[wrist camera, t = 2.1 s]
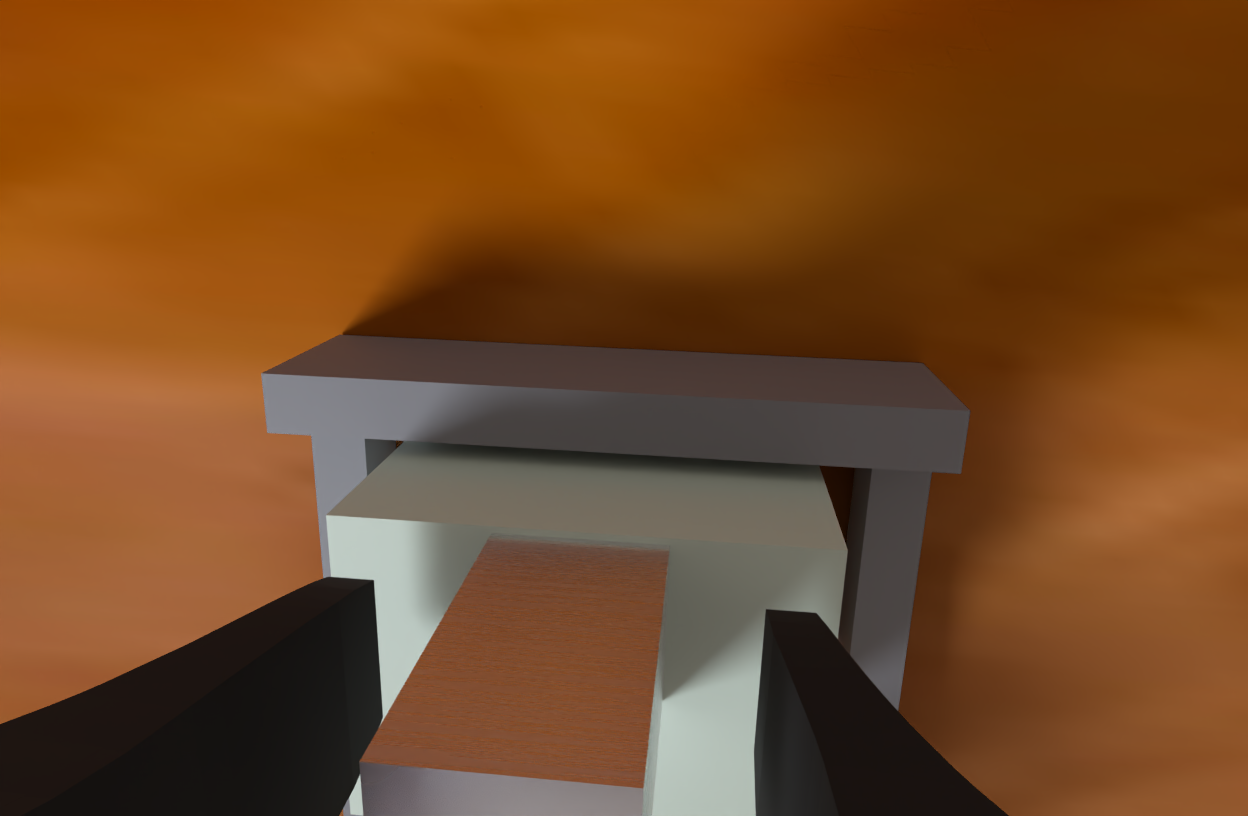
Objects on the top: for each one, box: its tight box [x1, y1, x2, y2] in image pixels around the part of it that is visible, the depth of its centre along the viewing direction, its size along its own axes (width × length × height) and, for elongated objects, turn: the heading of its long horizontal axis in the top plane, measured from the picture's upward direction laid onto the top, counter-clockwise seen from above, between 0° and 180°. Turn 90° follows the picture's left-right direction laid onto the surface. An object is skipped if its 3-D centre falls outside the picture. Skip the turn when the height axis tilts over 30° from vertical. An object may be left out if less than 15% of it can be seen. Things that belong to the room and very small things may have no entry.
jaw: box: [326, 441, 848, 816], centre depth 12 cm, size 7×5×10 cm
